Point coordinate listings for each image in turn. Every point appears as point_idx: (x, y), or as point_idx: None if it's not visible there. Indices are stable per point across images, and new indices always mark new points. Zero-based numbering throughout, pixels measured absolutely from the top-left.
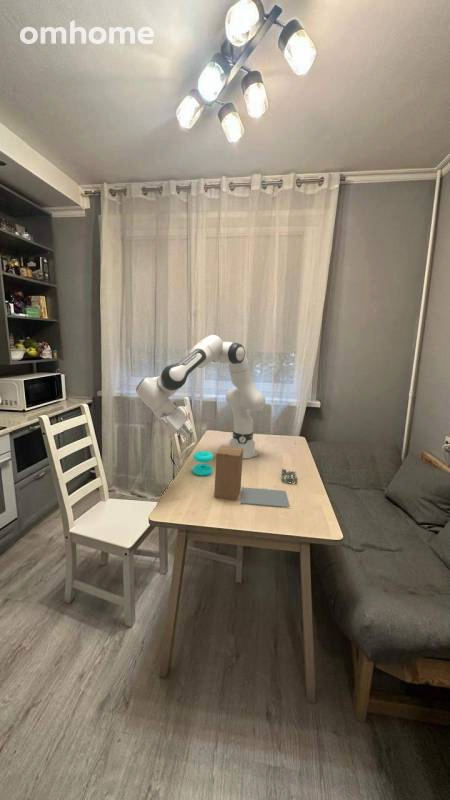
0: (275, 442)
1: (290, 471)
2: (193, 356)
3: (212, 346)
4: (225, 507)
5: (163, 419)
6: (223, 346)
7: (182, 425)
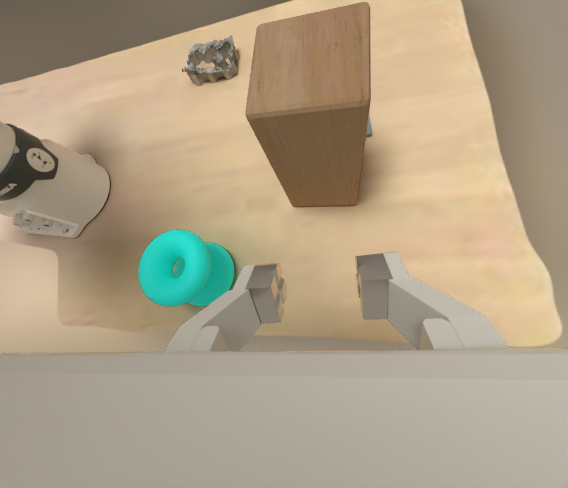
0: None
1: (188, 60)
2: None
3: None
4: (403, 165)
5: None
6: None
7: (376, 350)
